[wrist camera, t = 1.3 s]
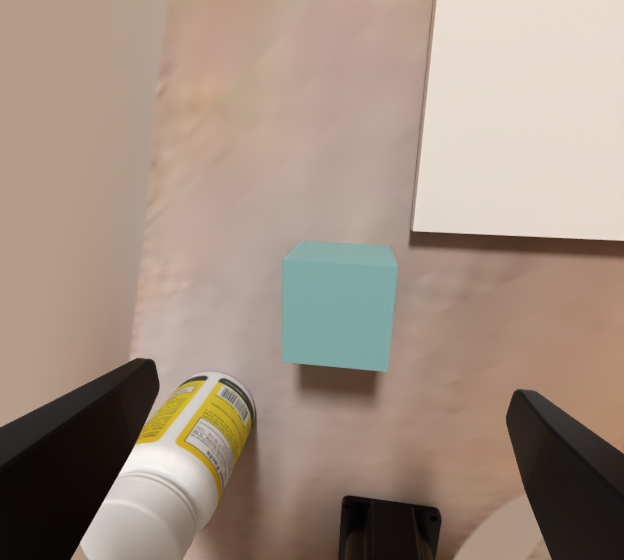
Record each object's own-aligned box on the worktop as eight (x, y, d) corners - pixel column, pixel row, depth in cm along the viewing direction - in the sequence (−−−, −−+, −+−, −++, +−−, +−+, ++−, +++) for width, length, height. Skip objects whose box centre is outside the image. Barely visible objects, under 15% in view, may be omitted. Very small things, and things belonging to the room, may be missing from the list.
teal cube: (382, 328, 21) (387, 371, 17) (299, 322, 22) (281, 361, 17) (390, 245, 20) (398, 266, 15) (300, 241, 21) (282, 259, 16)
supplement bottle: (176, 429, 25) (66, 574, 16) (181, 361, 24) (62, 477, 14) (252, 448, 25) (184, 609, 16) (262, 379, 23) (194, 513, 14)
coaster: (635, 238, 18) (650, 241, 17) (410, 228, 19) (412, 231, 19) (706, -23, 15) (729, -37, 14) (434, -13, 16) (438, -24, 16)
